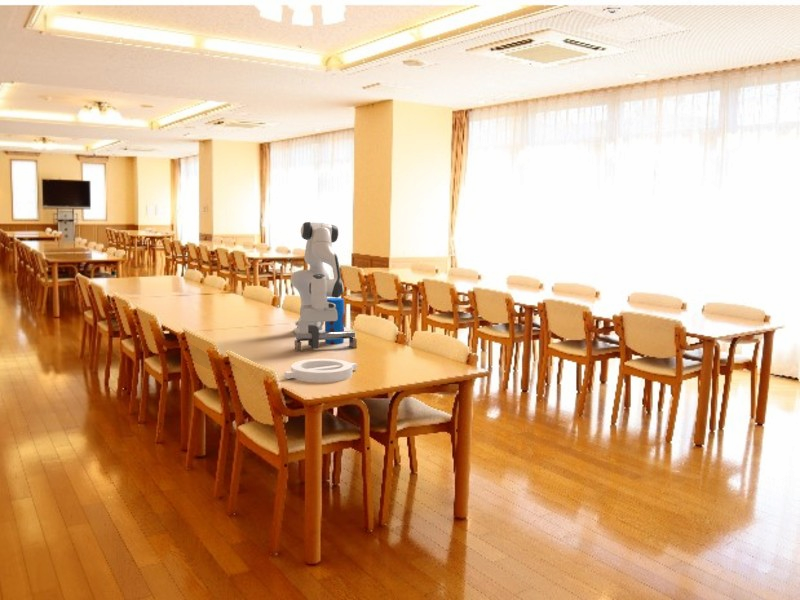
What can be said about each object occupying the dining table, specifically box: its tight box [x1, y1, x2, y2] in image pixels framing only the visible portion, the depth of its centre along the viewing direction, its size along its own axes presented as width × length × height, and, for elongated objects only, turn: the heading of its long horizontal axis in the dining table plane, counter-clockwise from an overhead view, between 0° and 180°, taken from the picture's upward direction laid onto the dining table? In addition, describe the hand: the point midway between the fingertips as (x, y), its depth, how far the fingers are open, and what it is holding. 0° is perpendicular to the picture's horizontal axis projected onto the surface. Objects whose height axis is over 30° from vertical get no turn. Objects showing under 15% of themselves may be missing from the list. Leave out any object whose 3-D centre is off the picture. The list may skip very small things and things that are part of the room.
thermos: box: [324, 297, 345, 345], centre depth 382 cm, size 11×11×25 cm
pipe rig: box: [294, 330, 358, 352], centre depth 365 cm, size 7×33×9 cm, turn 112°
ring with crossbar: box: [284, 358, 358, 383], centre depth 306 cm, size 28×28×5 cm
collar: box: [307, 325, 320, 350], centre depth 362 cm, size 11×3×11 cm, turn 22°
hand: (318, 329), depth 362 cm, fingers closed
